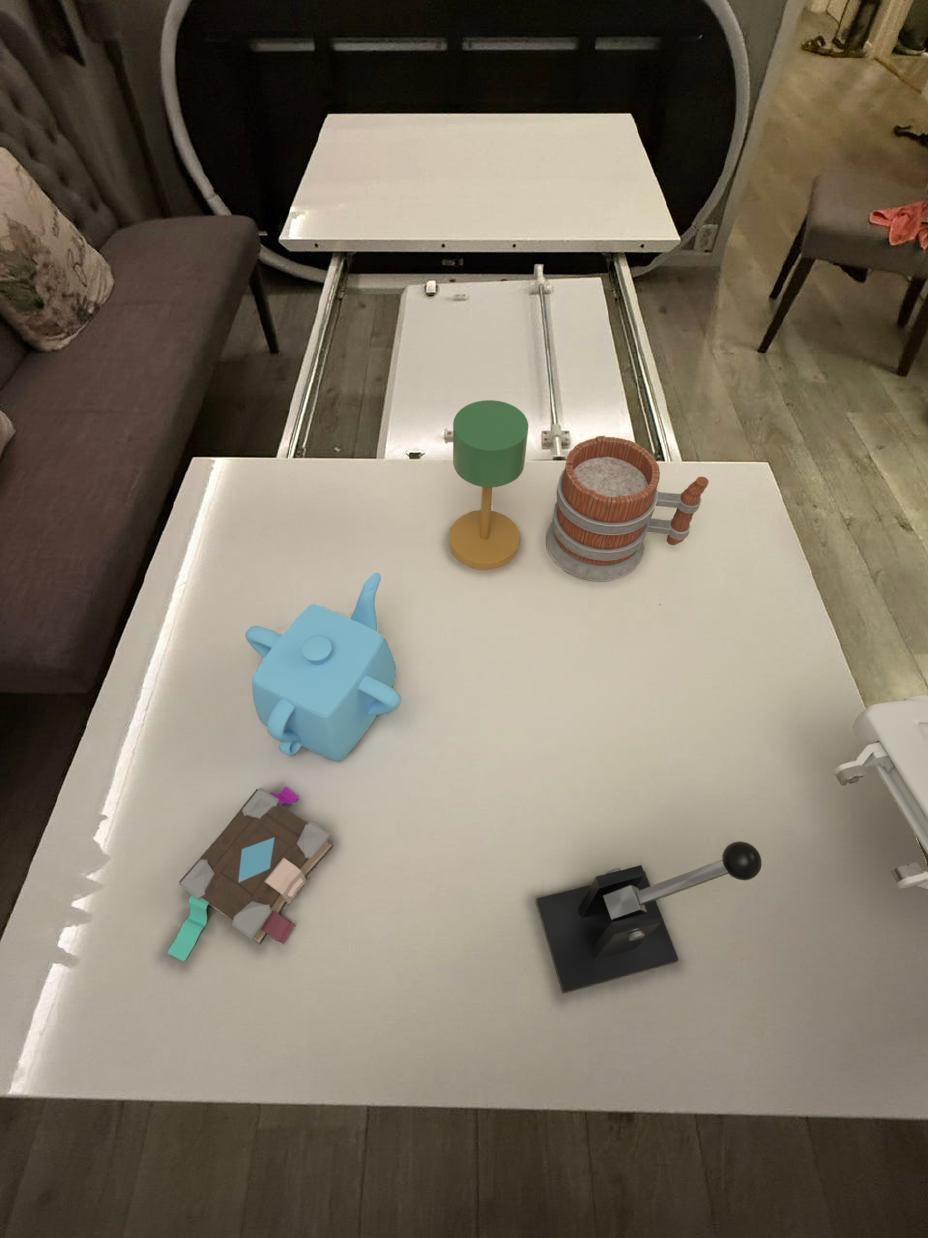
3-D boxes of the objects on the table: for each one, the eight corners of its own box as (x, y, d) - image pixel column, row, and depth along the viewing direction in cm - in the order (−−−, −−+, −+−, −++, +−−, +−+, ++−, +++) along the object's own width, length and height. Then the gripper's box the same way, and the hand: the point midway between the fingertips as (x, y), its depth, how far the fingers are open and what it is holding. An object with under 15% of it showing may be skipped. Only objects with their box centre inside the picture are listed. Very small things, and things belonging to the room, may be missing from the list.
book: (238, 1009, 71) (225, 1002, 66) (147, 938, 74) (129, 926, 70) (362, 837, 80) (357, 821, 76) (276, 780, 84) (267, 762, 80)
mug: (548, 504, 110) (560, 424, 97) (678, 517, 108) (707, 439, 96) (542, 577, 102) (554, 500, 89) (682, 592, 100) (714, 517, 88)
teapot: (410, 757, 86) (404, 701, 75) (268, 783, 84) (241, 729, 73) (387, 631, 96) (379, 565, 85) (260, 651, 94) (235, 587, 83)
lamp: (530, 558, 103) (546, 441, 86) (464, 578, 101) (466, 461, 84) (503, 510, 109) (512, 390, 91) (439, 527, 107) (437, 407, 89)
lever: (753, 839, 65) (748, 832, 63) (770, 875, 63) (766, 869, 61) (609, 893, 69) (599, 889, 66) (621, 928, 67) (611, 925, 64)
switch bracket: (642, 873, 78) (671, 833, 68) (676, 962, 73) (713, 934, 63) (535, 901, 77) (548, 864, 66) (562, 994, 72) (581, 970, 61)
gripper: (953, 675, 69) (821, 705, 67) (1110, 892, 58) (958, 936, 56) (918, 706, 75) (795, 735, 73) (1056, 911, 63) (915, 952, 61)
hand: (867, 824), depth 64 cm, fingers open, 8 cm apart
